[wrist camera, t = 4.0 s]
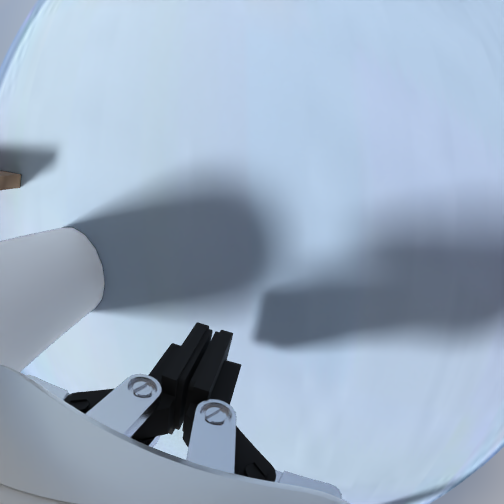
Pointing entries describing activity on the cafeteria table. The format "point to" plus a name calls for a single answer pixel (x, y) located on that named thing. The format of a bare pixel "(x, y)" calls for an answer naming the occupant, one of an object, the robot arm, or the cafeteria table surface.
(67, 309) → the white paper cup
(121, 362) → the cafeteria table surface
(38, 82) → the cafeteria table surface
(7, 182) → the box
